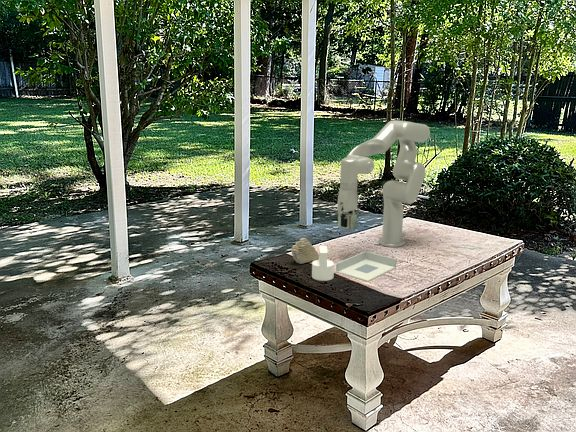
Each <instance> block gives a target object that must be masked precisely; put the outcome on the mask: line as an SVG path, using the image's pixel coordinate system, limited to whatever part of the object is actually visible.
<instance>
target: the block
mask: <svg viewBox="0 0 576 432" xmlns="http://www.w3.org/2000/svg"><path fill="white" fill-rule="evenodd" d="M343 214H344V215H345V213H343ZM357 215H358V214H357V213H355V214H352V213H347V219H348V220H347V227H342V226H341V218H340V215H339V214H338V213H337V226H338V228H341V229H346V230H353V229H355V228H356V229H357V222H358V221H357V219H358V216H357Z"/></svg>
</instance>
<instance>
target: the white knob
mask: <svg viewBox="0 0 576 432" xmlns="http://www.w3.org/2000/svg"><path fill="white" fill-rule="evenodd" d="M318 248H319V253H318V255H319V259H318V260H314V261H311V277H312V279H314V280H316V281H319V282H321V281H322V282H327V281H331V280H333V279H334V276H335V275H334V274H335V270H334V269H335V263H334V261H331V260H330V259H328V247H327V245H320V246H318Z"/></svg>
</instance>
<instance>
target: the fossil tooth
mask: <svg viewBox="0 0 576 432" xmlns="http://www.w3.org/2000/svg"><path fill="white" fill-rule="evenodd" d="M291 255H292V257H293V260H294V261H295V263H297V264H300V265H301V264H305V263H309V262H313V261H315V260H319V253H318V251H317V249H315V246H313V245H312V243H311V242H310V241H309V239H308V238H305V237H301V238H299V240H298V241H295V245H292V247H291Z"/></svg>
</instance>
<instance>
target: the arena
mask: <svg viewBox="0 0 576 432" xmlns="http://www.w3.org/2000/svg"><path fill="white" fill-rule="evenodd" d="M397 260H398V259H397V258H394V257H391V256H387V255H382V254H378V253H374V252H373V251H372V252H371V251H368V250H365V251H363V252H360V253H357V254H356V255H353V256H350V257H348V258H345V259H343V260H341V261H339V262H336V270H335V273H337V272H338V274H340V273H341V275H344V276H347V277H350V278H354V279H357V280H360V281H364V282H367V283H369V282H371V281H373V280H374V279H376V278H379V277H381V276H382V275H385V274H387V273H389V272H390V271H393V270H395V269H397ZM368 281H369V282H368Z"/></svg>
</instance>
